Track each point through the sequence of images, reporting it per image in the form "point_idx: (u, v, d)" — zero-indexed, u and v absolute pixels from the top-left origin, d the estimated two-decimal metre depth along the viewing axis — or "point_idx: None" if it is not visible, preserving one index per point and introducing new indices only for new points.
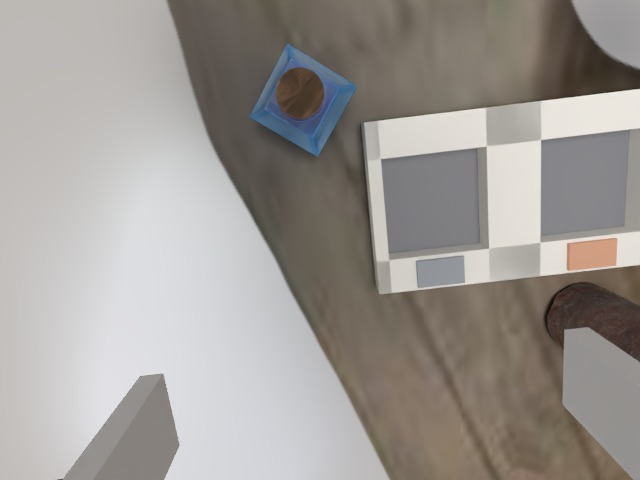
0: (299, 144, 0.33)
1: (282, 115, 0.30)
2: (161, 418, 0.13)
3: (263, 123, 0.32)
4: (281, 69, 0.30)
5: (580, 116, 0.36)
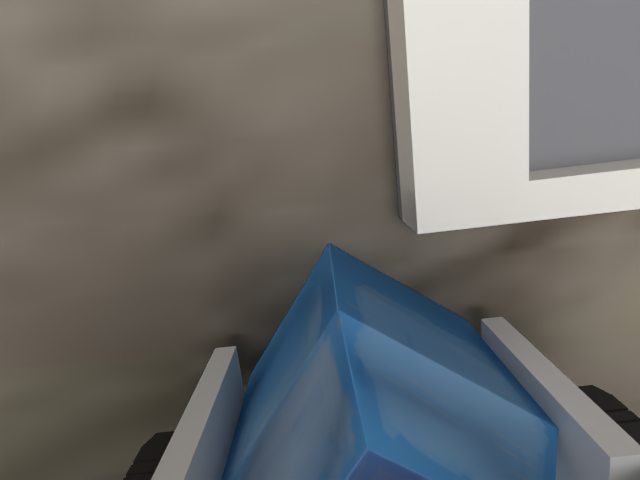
0: None
1: None
2: (237, 385, 0.14)
3: None
4: None
5: None
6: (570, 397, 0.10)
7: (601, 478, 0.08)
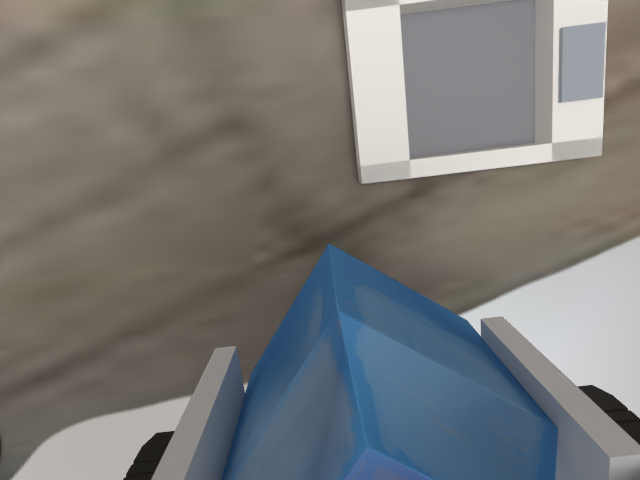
0: None
1: None
2: (237, 385, 0.14)
3: None
4: None
5: None
6: (570, 397, 0.10)
7: (601, 478, 0.08)
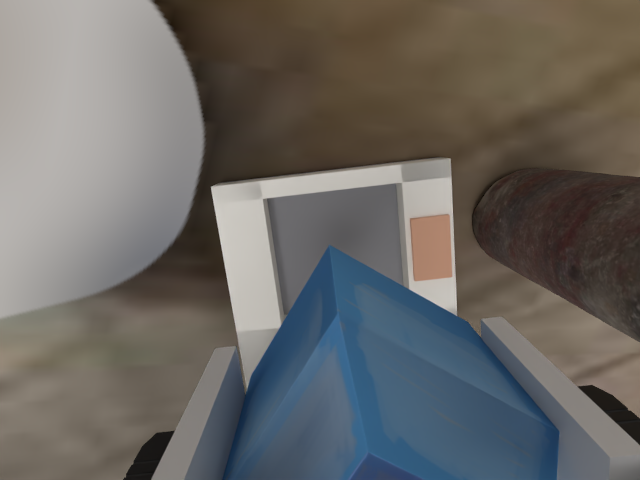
0: None
1: None
2: (237, 385, 0.14)
3: None
4: None
5: (252, 284, 0.29)
6: (570, 397, 0.10)
7: (601, 478, 0.08)
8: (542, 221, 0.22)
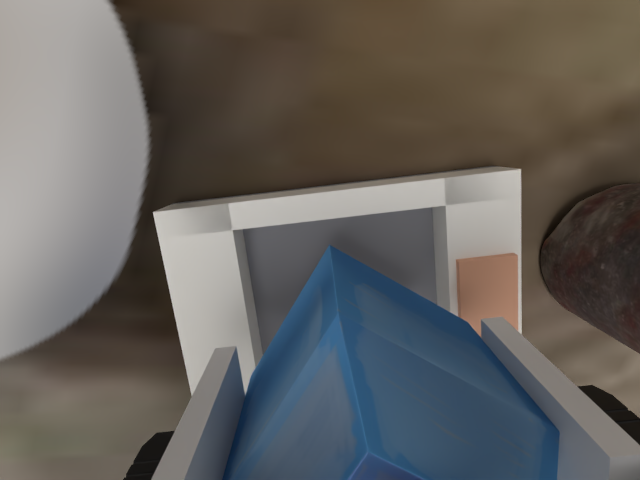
0: None
1: None
2: (237, 385, 0.14)
3: None
4: None
5: None
6: (570, 397, 0.10)
7: (601, 478, 0.08)
8: None
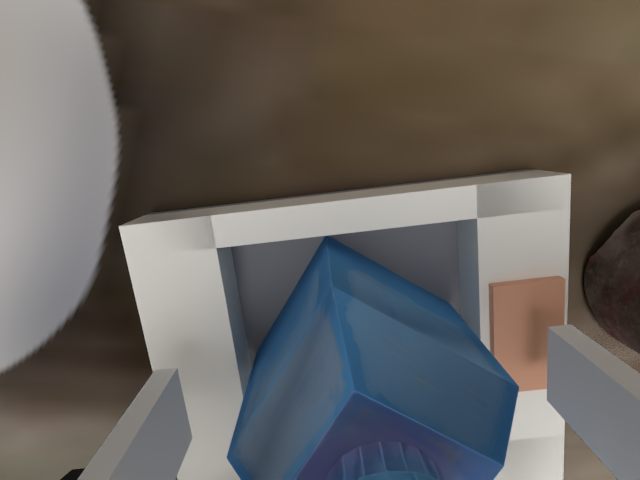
0: None
1: None
2: (176, 411, 0.13)
3: None
4: None
5: (202, 397, 0.16)
6: None
7: None
8: None
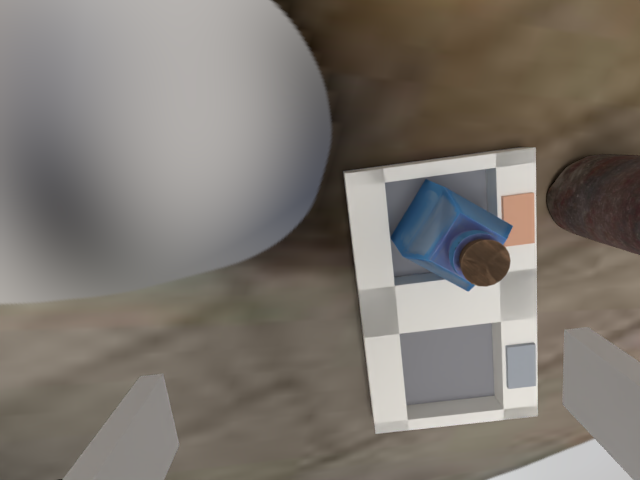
0: None
1: None
2: (161, 418, 0.13)
3: None
4: (435, 266, 0.31)
5: (373, 251, 0.36)
6: None
7: None
8: (619, 193, 0.29)
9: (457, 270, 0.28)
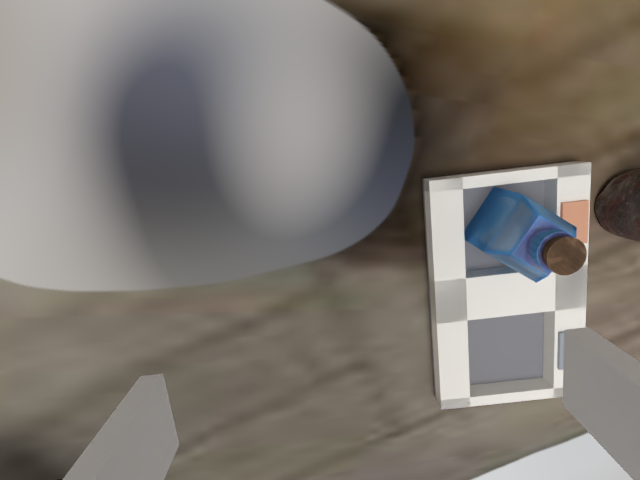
0: None
1: None
2: (161, 418, 0.13)
3: None
4: (513, 260, 0.37)
5: (449, 248, 0.42)
6: None
7: None
8: None
9: (539, 262, 0.34)
